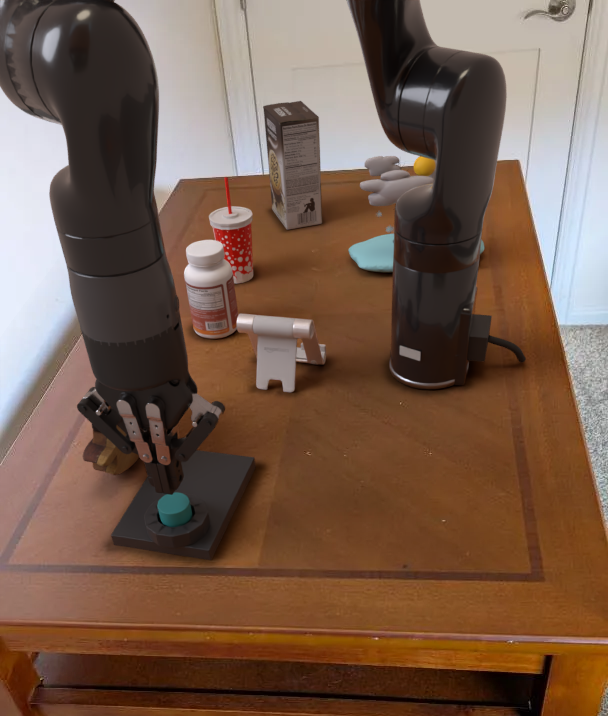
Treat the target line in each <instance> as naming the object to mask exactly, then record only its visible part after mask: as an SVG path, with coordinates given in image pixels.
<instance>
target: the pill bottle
mask: <svg viewBox="0 0 608 716" xmlns="http://www.w3.org/2000/svg"><path fill="white" fill-rule="evenodd" d="M185 255H186V259H187V265H186V266H185V268H184V271H183V277H184V284H185V290H186V295H187V301H188V305H189V306H188V307H189V312H190V317H191V323H192V327H193V331H194V332H195V334H197V335H198V336H199V337H202V338H204V339H212V340H213V339H222V338H227V337H228V336H230V335H232V334H233V333H235V332H236V331H238V330H237V318H238V315H239V310H238V301H237V294H236V288H235V283H234V279H233V272H232V267H231V265H230V264H229V262H228V261H226V260H225V259H224V256H225V253H224V248H223V244H222V243H221V242H219V241H216V240H215V239H203V240H198V241H194V242H192V243H190V244H189V245H187V246H186V249H185Z"/></svg>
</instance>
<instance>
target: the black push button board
mask: <svg viewBox="0 0 608 716" xmlns="http://www.w3.org/2000/svg"><path fill="white" fill-rule="evenodd" d="M181 464H182V469H183V474H184V478H183V481H182V482H181V484H180V486H179V487H178V489H177V490H175V492H174V493H183V494H185V495H186V496H187V497H188V498H189V500H190V505H191V510H192V518H191V520H190V521H189V522H188V523H186V524H185V525H183V526H178V527H168V526H166V525H164V524H163V523H162V522H161V519H160V515H159V511H158V507H157V504H158V501H159V500H160V499H161V498H162V497H163V496H165V495H167V494H162V493H157V492H156V490H155V487H152V486H151V484H150V483H149V480H148V476H146V478H145V479H144V480H143V483H142V484H141V485H140V488H139V489H138V491H137V492H136V494H135V495H134V498H132V500H131V501H130V504H129V505H128V506H127V508H126V510H125V511H124V513H123V514H122V516H121V518H120V520H119V521H118V522H117V524H116V526H115V527H114V529H113V531H112V533H111V534H110V538H111V541H112V544H113V545H114V546H119V547H124V548H130V549H137V550H143V551H148V552H149V551H151V552H155V553H162V554H169V555H173V556H174V555H175V556H182V557H186V558H187V557H188V558H194V559H200V560H205V561H212V560H213V558H214V555H215V553H216V551H217V549H218V547H219V545H220V543H221V540H222V539H223V536H224V534H225V532H226V531H227V529H228V526H229V524H230V522H231V520H232V517H233V516H234V514H235V512H236V510H237V508H238V506H239V503H240V502H241V499H242V497H243V496H244V493H245V491H246V488H247V487H248V484H249V482H250V480H251V478H252V477H253V474H254V472H255V470H256V467H257V466H256V458H255V456H247V455H238V454H232V453H231V454H230V453H223V452H216V451H208V450H199V449H197V450H196V451H195V452H194V454H193V455H192V456H191V457H190V458H189V460H188V461H186V462H181Z"/></svg>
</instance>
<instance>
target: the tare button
mask: <svg viewBox="0 0 608 716" xmlns="http://www.w3.org/2000/svg"><path fill="white" fill-rule="evenodd" d="M157 507H158V511H159V515H160V519H161V522H162V523H163V524H164V525H166V526H168V527H178V526H183V525H185V524H186V523H188V522H189V521H190V520H191V518H192V510H191V505H190V500H189V498H188V497H187V496H186V495H185V494H183V493H173V495H169V494H167V495H165V496H163V497H162V498H161V499H160V500H159V501H158V504H157Z"/></svg>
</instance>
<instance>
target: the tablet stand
mask: <svg viewBox="0 0 608 716" xmlns="http://www.w3.org/2000/svg"><path fill="white" fill-rule="evenodd" d="M236 331H237V332H238V333H239V334H247V336H248V339H249V342H250V344H251V347H252V350H253V352H254V355H255V357H256V381H255V382H256V383H255V386H256V388H257V389H259V390H265V391H268V389H269V388H268V387H269V383H270V380H276V381H280V382H281V383H282V391H283V392H284V393H293V392H295V390H296V375H297V374H296V372H297V371H296V370H297V363H304V364H311V365H317V366H318V365H325V364H326V362H327V361H326V360H327V345H326V344H321V343H320V341H319V338H318V334H317V330H316V325H315V321H314V320H313V319H309V318H308V319H307V318H295V317H285V316H272V315H263V314H262V315H261V314H249V313H238V318H237V330H236ZM298 339H301V343H300V346H299V347H298Z"/></svg>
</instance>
